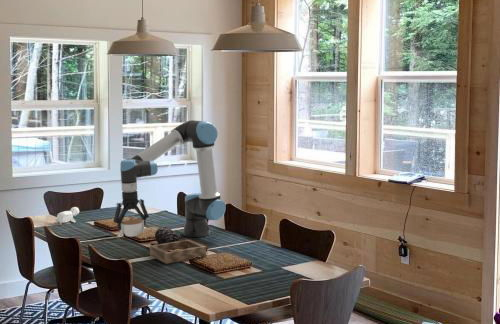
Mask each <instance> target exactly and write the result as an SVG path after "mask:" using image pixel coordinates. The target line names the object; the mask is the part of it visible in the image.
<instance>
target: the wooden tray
mask: <svg viewBox="0 0 500 324" xmlns="http://www.w3.org/2000/svg"><path fill="white" fill-rule="evenodd" d="M157 244H158V243H157ZM157 244H154V245H149V256H150V257H152V258H154V259H156V260H158V261H160V262H162V263H164V264H172V263H177V262H183V261H187V260H188V261H189V260H191V259H190V258H194V257H199V256H206V257H207V246H206V245H203V244H201V243H199V242H198V243H197V242H195V241H193V240H191V239H189V238H188V239H183V240H182V239H181V240H179V241H176V242H170V243H164V244H158V245H157ZM175 249H183V250H177V251H171V252H168V251H169V250H175Z"/></svg>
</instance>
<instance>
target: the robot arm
mask: <svg viewBox="0 0 500 324" xmlns="http://www.w3.org/2000/svg"><path fill="white" fill-rule="evenodd" d="M218 134H219V133H218V130H217V127H216V125H214V123H212V122H210V121H205V120H192V119H190V120H187V121H184V122H183V123H181V124H179V125H177V126H176V127H175V128H173V129H171V130H170V133H169V134H167V135H165V136H164V137H162V138H160V139H159V140H158V141H156V142H154V143H153V144H151V145H150V146H148V147H147V148H145V149H144V150H142V151H141V152H139V153H137V154H136V155H134V156H132V157H128V158H125V159H123V160H121V161H120V164H119V166H120V169H119V170H120V181H121V183H120V184H121V191H122V192H121V197H122V198H121V199H122V201H121V202H116V208H115V214H114V217H113V218H114V219H113V223H115V224H116V226H117V230H118V231H119V236H120V237H124V233H123V224H122V223H121V222H122V220H123V219H125V218H124V217H125V216H126V213H127V212H128V211H130V210H135V212H136V213H137V214H138V216H139V218H141V219H142V230H141V232H140V233H143V234H144V233H145V226H146V225H147V224H146V221H147V219H148V218H149V213H148V211H147V208H146V206H145V200H144V199H142V198H140V199H138V198H139V195H138V191H137V190H138V181H137V179H139V178H143V177H145V178H146V177H151V176H154V175H156V174H157V173H158V171H159V169H158V164H157V162H156V160H157V159H158V158H160V157H162V156H163V155H165V154H166V153H169V152H170V151H171V150H173V149H174V148H176V147H177V146H182V145H184V144H186V143H190V142H191V143H192V148H193V149H194V150H195V152H196V159H197V161H196V162H197V167H198V168H197V169H198V177H199V186H200V192H197V193H190V194H185V196H184V203H185V204H184V205H185V209H184V210H185V223H184V225H183V229H182V235H183V236H184V237H191V238H202V237H207V236H210V234H211V230H210V227H209V223H208V221H207V220H209V221H219V220H220V219H222V218H223V216H224V215H225V212H226V208H227V207H226V206H227V205H226V203H225V202H224V201H223V200H222V199H221V193H220V192H218V189H217V181H216V173H215V172H216V171H215V163H214V155H213V148H214V147H215V142H216V141H217V138H218ZM138 204H139V205H140V208H141V210H142V211H141V210H140V208H139V207H138ZM121 209H122V211H121Z"/></svg>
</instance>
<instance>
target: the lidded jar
mask: <svg viewBox="0 0 500 324" xmlns="http://www.w3.org/2000/svg"><path fill="white" fill-rule="evenodd" d="M121 223H122V224H123V235H125V236H126V237H131V238H133V237H137V236H139V234H140V233H142V232H141V230H142V218H141V217H133V216H130V217H127V218H123V220H122V222H121Z"/></svg>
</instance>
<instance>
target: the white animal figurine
mask: <svg viewBox="0 0 500 324" xmlns="http://www.w3.org/2000/svg"><path fill="white" fill-rule="evenodd" d="M79 213H80V209H79V207H77V206H73V207H71V208H70V210H65V211H61V212H59V213H57V216H56V218H55V219H54V220H55V222H56V224H58V223H59V225H62V224H65V223H69V222H72V223H75V224H76V223H77V220H76V219H75V218H74V217H75V216H78V215H79Z"/></svg>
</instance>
